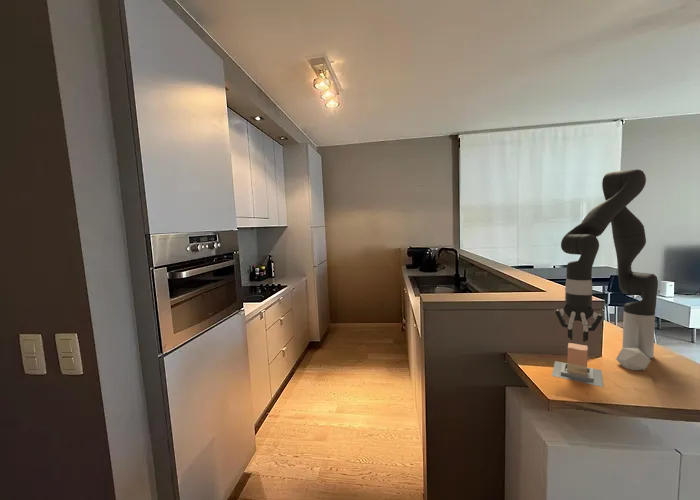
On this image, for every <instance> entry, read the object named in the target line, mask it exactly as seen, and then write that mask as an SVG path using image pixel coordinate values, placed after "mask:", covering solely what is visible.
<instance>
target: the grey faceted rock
mask: <svg viewBox="0 0 700 500" xmlns="http://www.w3.org/2000/svg"><path fill="white" fill-rule="evenodd" d="M615 360H616V361H617V362H618V363H619V364H620V365H621V366H622V367H623V368H625V369H627V370H632V371H645V370H646V369H647V367H648V366H649V364H651V361H652V360H651V359H649V358H648V357H647V356H646V355H645V354H644V353H643V352H642V351H640V350H639V349H638V348H621V350H620V351H619V353H618V355H617V356H616V358H615Z"/></svg>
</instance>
